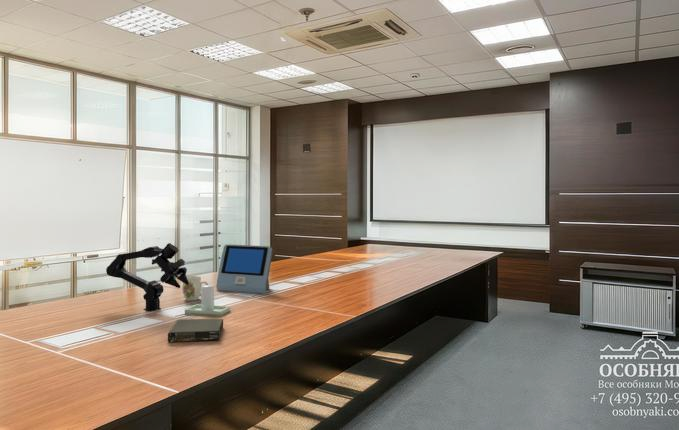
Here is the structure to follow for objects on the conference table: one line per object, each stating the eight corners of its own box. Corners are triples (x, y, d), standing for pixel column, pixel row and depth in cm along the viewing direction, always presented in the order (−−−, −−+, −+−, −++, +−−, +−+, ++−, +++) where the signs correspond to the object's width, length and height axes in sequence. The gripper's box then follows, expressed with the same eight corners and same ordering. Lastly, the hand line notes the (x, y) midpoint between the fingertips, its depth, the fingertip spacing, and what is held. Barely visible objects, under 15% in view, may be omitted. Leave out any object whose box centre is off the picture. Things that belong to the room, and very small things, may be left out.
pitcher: (205, 301, 268) (205, 278, 268) (175, 301, 268) (175, 278, 268) (211, 297, 279) (211, 275, 279) (181, 297, 279) (181, 274, 279)
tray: (184, 314, 239) (184, 309, 239) (195, 308, 251) (195, 304, 251) (220, 316, 236) (220, 311, 235) (230, 310, 247) (230, 306, 247)
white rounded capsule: (202, 312, 239) (202, 287, 238) (200, 310, 244) (200, 285, 244) (215, 311, 242) (215, 286, 242) (212, 308, 247) (212, 284, 247)
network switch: (166, 345, 190) (166, 333, 189) (170, 330, 212) (170, 319, 212) (224, 341, 196) (225, 330, 196) (222, 326, 219) (222, 316, 218)
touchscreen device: (214, 291, 298) (215, 245, 298) (230, 286, 317) (231, 243, 317) (263, 295, 288) (264, 247, 288) (276, 290, 307) (277, 245, 307)
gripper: (165, 256, 236) (185, 278, 235) (183, 252, 255) (202, 273, 253) (151, 271, 238) (171, 293, 236) (170, 266, 256) (189, 286, 255)
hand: (184, 286), depth 245 cm, fingers open, 9 cm apart
